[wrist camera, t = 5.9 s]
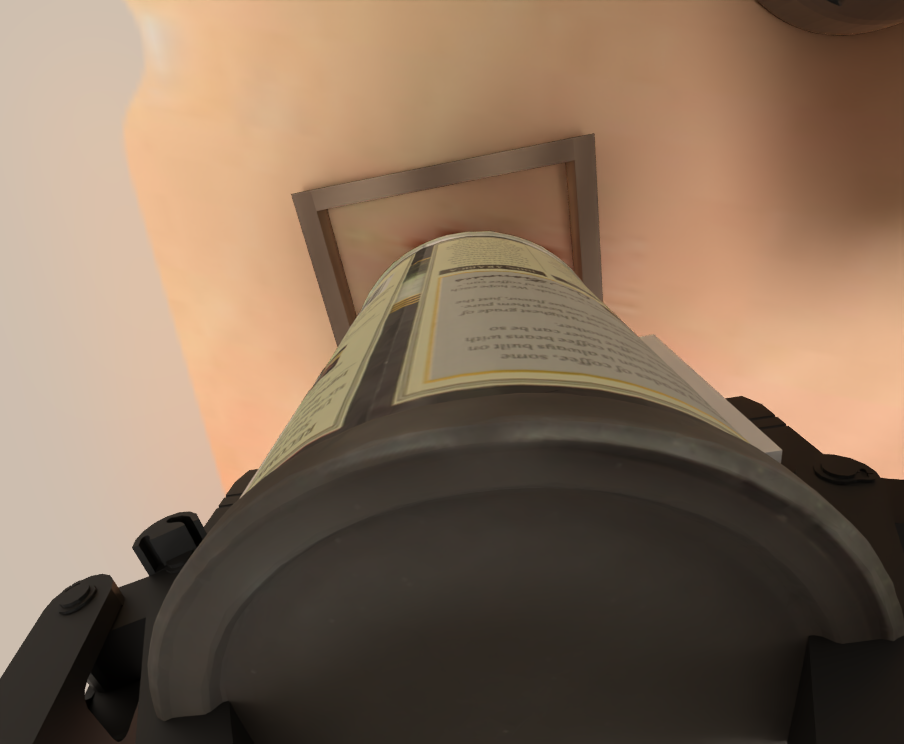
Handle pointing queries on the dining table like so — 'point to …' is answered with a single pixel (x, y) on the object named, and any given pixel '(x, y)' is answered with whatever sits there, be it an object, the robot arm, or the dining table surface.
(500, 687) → the coffee can
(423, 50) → the dining table surface
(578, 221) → the square picture frame
